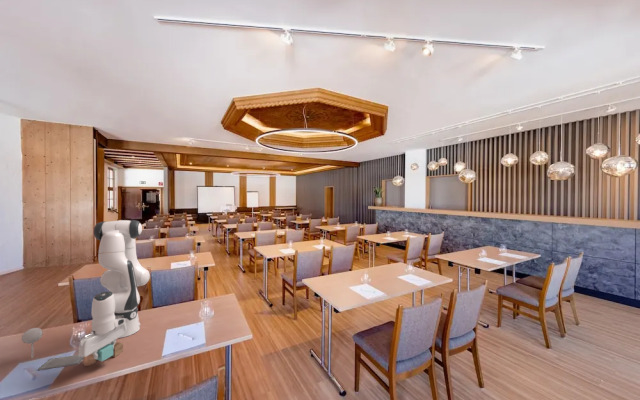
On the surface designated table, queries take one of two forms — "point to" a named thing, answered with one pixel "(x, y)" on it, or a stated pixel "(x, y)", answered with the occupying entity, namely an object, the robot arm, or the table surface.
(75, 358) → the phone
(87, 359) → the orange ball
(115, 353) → the walnut cube
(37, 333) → the lollipop
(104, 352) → the teal cube
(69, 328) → the table surface
